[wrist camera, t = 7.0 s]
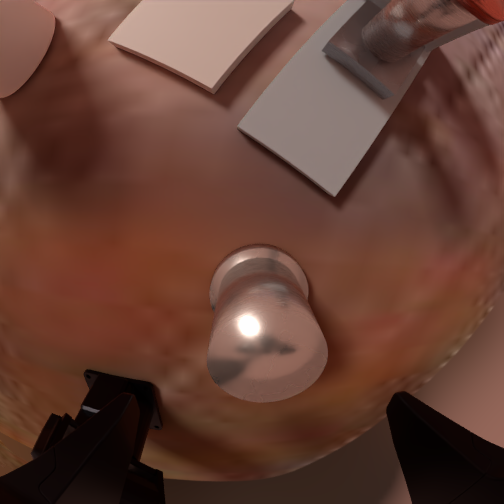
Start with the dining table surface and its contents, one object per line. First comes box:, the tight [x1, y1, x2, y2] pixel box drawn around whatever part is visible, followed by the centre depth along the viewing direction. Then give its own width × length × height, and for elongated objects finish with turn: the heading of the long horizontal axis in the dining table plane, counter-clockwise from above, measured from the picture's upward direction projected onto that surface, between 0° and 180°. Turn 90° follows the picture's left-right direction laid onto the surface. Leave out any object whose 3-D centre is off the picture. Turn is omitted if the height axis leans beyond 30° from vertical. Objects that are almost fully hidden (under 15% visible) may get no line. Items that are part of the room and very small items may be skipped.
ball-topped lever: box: [322, 0, 504, 100], centre depth 7 cm, size 5×4×10 cm
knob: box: [207, 244, 328, 402], centre depth 13 cm, size 6×6×7 cm
